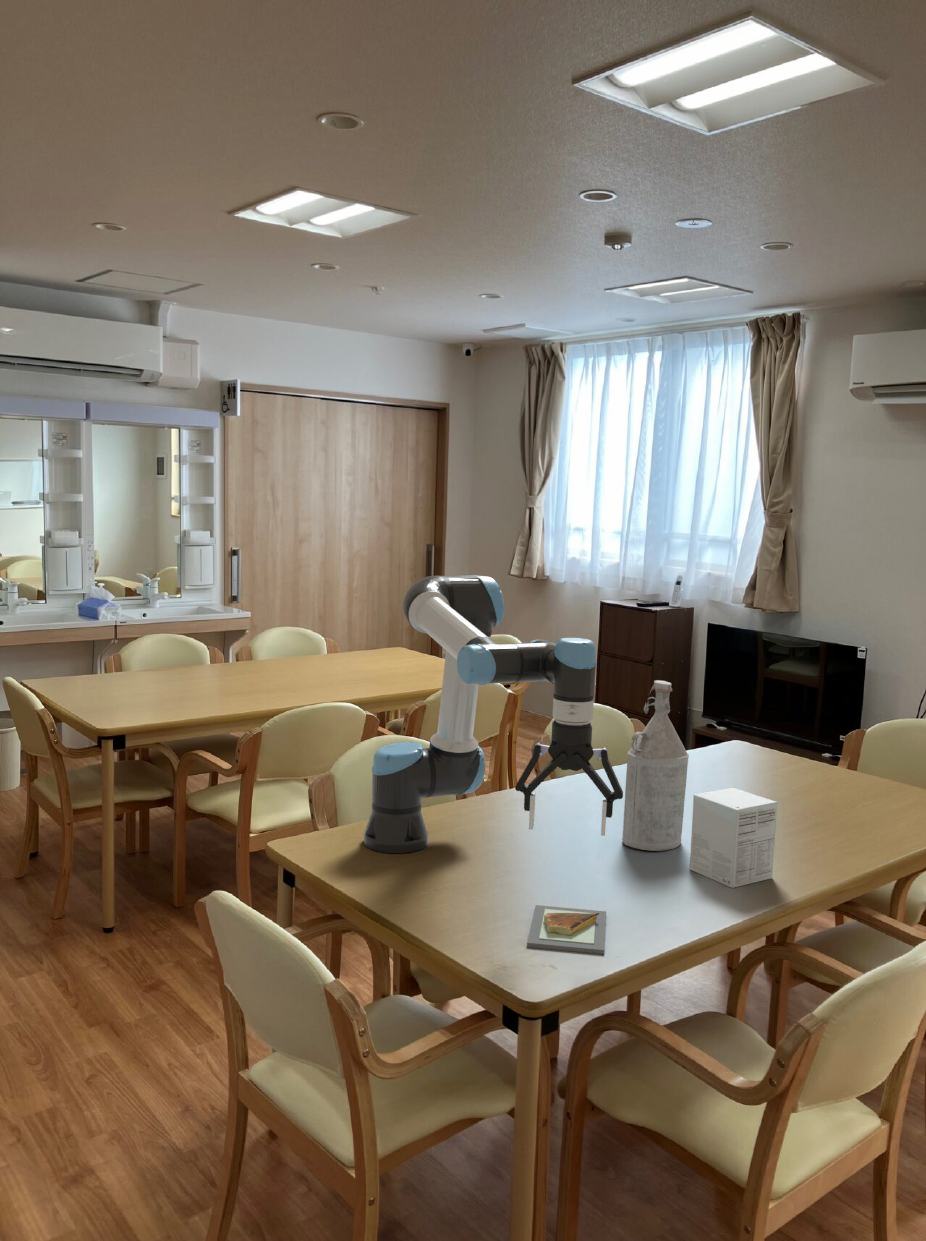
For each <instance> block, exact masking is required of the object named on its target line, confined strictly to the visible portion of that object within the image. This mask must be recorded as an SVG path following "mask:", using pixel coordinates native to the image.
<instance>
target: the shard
mask: <svg viewBox="0 0 926 1241" xmlns="http://www.w3.org/2000/svg"><path fill="white" fill-rule="evenodd" d="M598 915H599V913H597V914H594V913H588V914H585V913H583V914H582V913H547V914H545V915H544V922H545V923H546V924H547V932H557V933H560V934H564V935H572V934H573V933H575V932H577V931H579V930H581V929H583V928H586V927H587V926H589V925H591V924H592V923H594V921H596V919H597V916H598Z"/></svg>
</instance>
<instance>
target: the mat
mask: <svg viewBox="0 0 926 1241" xmlns="http://www.w3.org/2000/svg"><path fill="white" fill-rule="evenodd" d="M533 911H534V913H533V916H532V921H531V924H530V925H531V926H530V928H529V933H528V939H527V942H526V947H527V948H536V949H546V950H554V951H555V950H557V951H566V952H577V953H587V954H597V955H605V949H606V948H605V947H606V945H605V944H606V929H607V928H606V926H607V911H606V910H605V911H604V910H597V909H596V910H595V909H594V910H593V909H583V908H572V907H561V906H560V907H559V906H550V905H539V904H537V905H535V908H534V910H533ZM547 913H582V914H583V913H585V914H588V913H594V914H597V913H599V915H598V916H597V919H596V921H594V923H592V924H591V925H589V926H587V927H586V928H583V929H581V930H579V931H577V932H575V933H573V934H572V935H564V934H560V933H557V932H547V924H546V923H545V922H544V915H545V914H547Z"/></svg>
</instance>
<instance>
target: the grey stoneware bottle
mask: <svg viewBox="0 0 926 1241" xmlns="http://www.w3.org/2000/svg"><path fill="white" fill-rule="evenodd" d="M654 690H655V697H654V696H651V697H648V700H650V699H652V700H653V699H654V702H650V701H647V702H645V704H644V707H643V711H644V714H646V715H648V713H649V710H650V708H649V707H650V706H654V709H655V711H654V714H653V716H652V717H651V719H650V720H649V721H648V723H647V724H646V726H645V727H644V729H643V730H642V731H640V730H639V731H636V732H634V733H633V735H632V736H631V742H632V743H630V744H631V747H630V749H629V750H628V751H627V756H626V758H627V759H626V777H625V788H624V790H625V791H624V792H625V793H624V807H623V808H624V809H623V825H622V838H621V839H622V843H623V844H624V845H625V846H628V847H631V848H633V849H638V850H641V851H650V852H651V851H652V852H655V851H656V852H660V851H668V850H673V849H675V848H677V847H679V846H680V845H681V844H682V834H683V824H684V823H683V822H684V812H685V810H684V809H685V799H686V798H685V797H686V788H687V777H688V766H689V758H690V757H689V756H690V755H689V753H688V751H687V750H686V748H685V746H684V744H683V742H682V740H681V739H680V736H679V735H678V733H677V731H676V729H675V727H674V725H673V723H672V721H671V720H670V718H669V715H668V714H670V712H671V706H670V705H671V704H670V694H671V692H673V688H672V682H668V681H666V680H659V679H658V680H657V679H656V680H654V681H653V684H652V687H651V689H650V690H649V691H650V692H649V694H651V692H652V691H654ZM649 702H650V703H649Z"/></svg>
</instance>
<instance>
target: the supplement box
mask: <svg viewBox="0 0 926 1241" xmlns="http://www.w3.org/2000/svg"><path fill="white" fill-rule="evenodd" d="M692 798H693V799H692V800H693V801H692V818H691V819H692V822H691V838H690V854H689V855H690V857H689V870H690V871H693V872H695V873H697V874H699V875H702V876H704V877H706V878H708V879H710V880H713V881H715V882H718V883H720V884H722V885H724V886H727V887H729V888H731V889H734V888H738V887H743V886H746V885H751V884H755V883H757V882H761V881H766V880H770V879H773V872H774V858H775V845H776V844H775V843H776V842H775V841H776V828H777V827H776V826H777V816H778V814H777V812H778V801H775V800H773V799H769V798H767V797H766V798H765V797H763V796H759V795H757V794H754V793H751V792H748V791H745V790H742V789H739V788H735V787H729V788H724V789H718V790H711V791H707V792H700V793H694V794H693V797H692Z"/></svg>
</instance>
